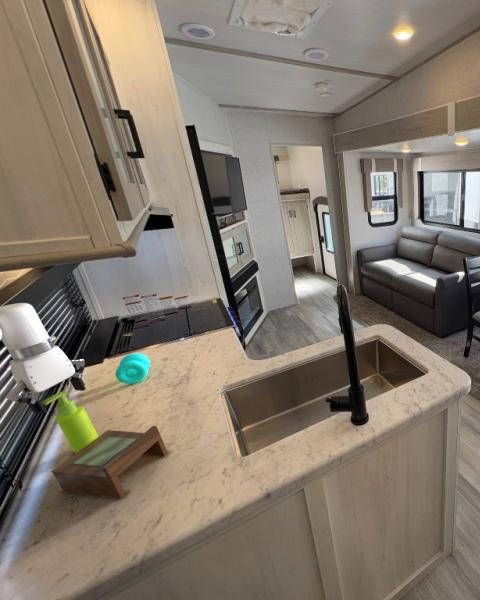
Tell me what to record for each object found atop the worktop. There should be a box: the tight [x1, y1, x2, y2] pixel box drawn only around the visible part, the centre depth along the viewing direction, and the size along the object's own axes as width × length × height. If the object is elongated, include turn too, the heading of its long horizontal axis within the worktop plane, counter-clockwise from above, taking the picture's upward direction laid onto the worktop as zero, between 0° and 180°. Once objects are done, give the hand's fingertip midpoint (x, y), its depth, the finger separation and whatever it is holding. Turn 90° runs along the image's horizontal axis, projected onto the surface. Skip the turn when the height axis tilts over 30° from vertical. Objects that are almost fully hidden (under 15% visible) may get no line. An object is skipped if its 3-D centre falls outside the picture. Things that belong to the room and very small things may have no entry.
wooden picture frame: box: [51, 425, 169, 499], centre depth 84 cm, size 18×14×10 cm
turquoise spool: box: [114, 353, 151, 385], centre depth 128 cm, size 10×10×10 cm
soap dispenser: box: [41, 390, 99, 454], centre depth 90 cm, size 6×7×20 cm
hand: (62, 400), depth 88 cm, fingers open, 9 cm apart
